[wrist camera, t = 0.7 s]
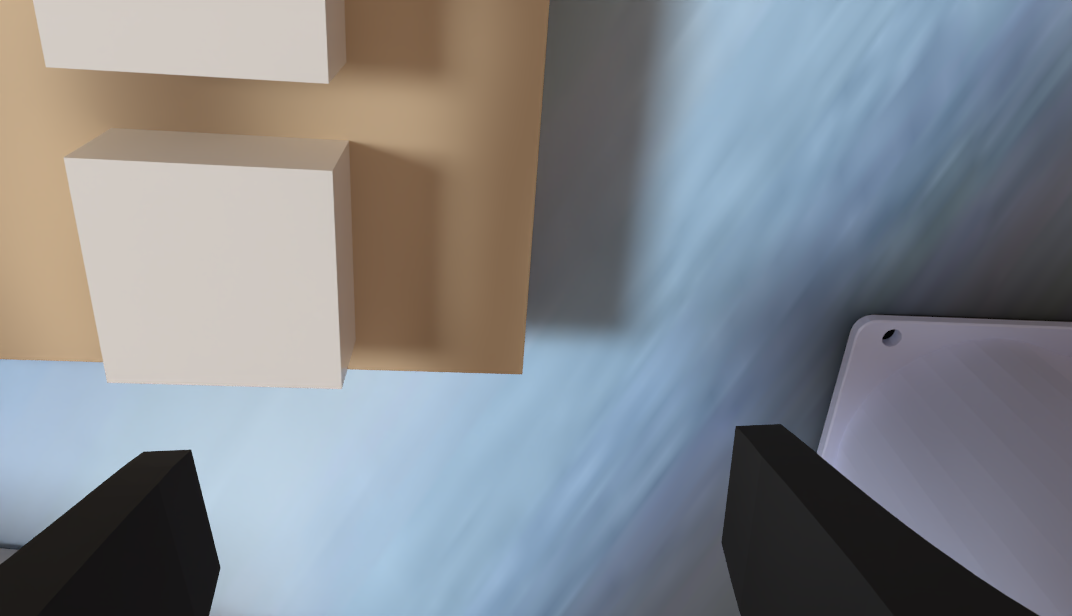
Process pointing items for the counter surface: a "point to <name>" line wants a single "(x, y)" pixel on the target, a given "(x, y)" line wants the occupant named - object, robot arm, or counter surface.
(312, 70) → the tile
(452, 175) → the board
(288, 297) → the tile
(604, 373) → the counter surface
